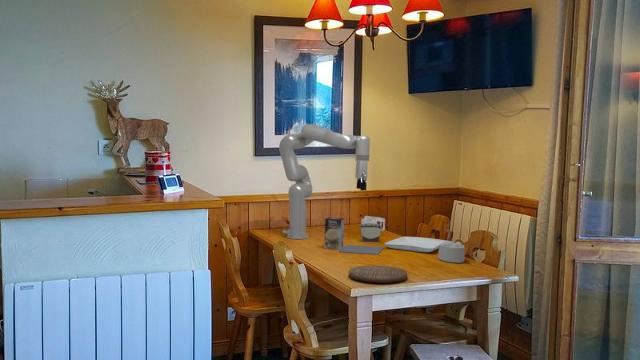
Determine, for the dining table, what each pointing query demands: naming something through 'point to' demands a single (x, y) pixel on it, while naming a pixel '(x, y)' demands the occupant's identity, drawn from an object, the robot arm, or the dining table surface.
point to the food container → (370, 232)
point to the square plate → (415, 244)
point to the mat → (361, 249)
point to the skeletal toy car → (373, 220)
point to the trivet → (378, 274)
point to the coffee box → (334, 233)
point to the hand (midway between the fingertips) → (361, 189)
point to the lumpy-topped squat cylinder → (452, 252)
